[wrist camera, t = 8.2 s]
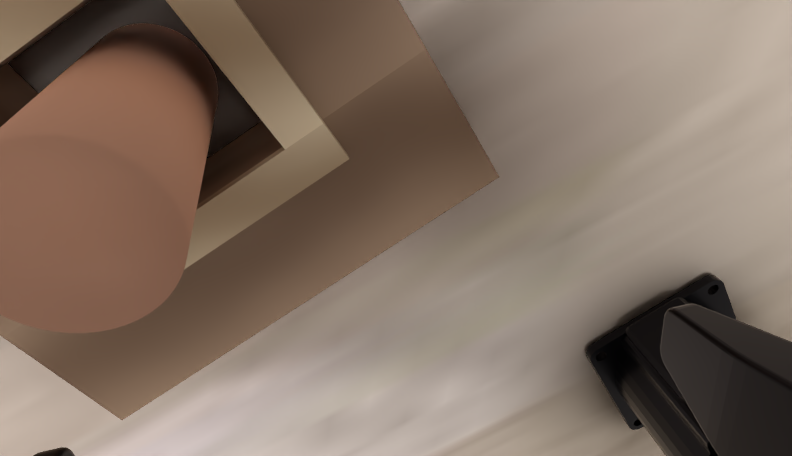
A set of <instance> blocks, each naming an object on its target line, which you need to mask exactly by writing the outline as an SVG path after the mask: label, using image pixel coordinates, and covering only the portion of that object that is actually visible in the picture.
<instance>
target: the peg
mask: <svg viewBox="0 0 792 456" xmlns="http://www.w3.org/2000/svg"><path fill="white" fill-rule="evenodd" d="M217 102H218V83H217V79H216V75H215V72H214V70H213V67H212V65H211V64H210V62H209V60H208V59H207V57H206V56H205V54H204V53H203V52H202V51H201V50H200V48H199V47H198V46H197V45H196V44H194V43H193V42H192V41H191V40H190V39H188V38H187V37H185V36H184V35H182V34H180V33H179V32H177V31H175V30H172V29H170V28H167V27H164V26H160V25H155V24H148V23H138V24H130V25H126V26H123V27H120V28H118V29H115V30H113V31H111V32H110V33H108V34H107V35H105V36H104V37H103V38H102V39H101V40H100V41H98V42H97V43H96V44H95V45H94V46H93V47H92V48H90V49H89V50H88V51H87V52H86V53H85V54H84V55H82V56H81V57H80V58H79V59H78V60H77V61H76V62H74V63H73V64H72V65H71V66H70V67H69V68H68V69H66V70H65V71H64V72H63V73H62V74H61V75H60V76H58V77H57V78H56V79H55V80H54V81H53V82H52V83H50V84H49V85H48V86H47V87H46V88H45V89H44V90H42V91H41V92H40V93H39V94H38V95H37V96H36V97H34V98H33V99H32V100H31V101H30V102H29V103H28V104H26V105H25V106H24V107H23V108H22V109H21V110H20V111H18V112H17V113H16V114H15V115H14V116H13V117H12V118H10V119H9V120H8V121H7V122H6V123H5V124H4V125H2V126H1V127H0V315H2V316H4V317H6V318H8V319H11V320H13V321H16V322H18V323H21V324H24V325H27V326H31V327H34V328H37V329H42V330H48V331H53V332H62V333H92V332H100V331H106V330H111V329H115V328H118V327H121V326H125V325H128V324H130V323H132V322H134V321H137V320H139V319H141V318H142V317H144V316H146V315H148V314H149V313H151V312H152V311H153V310H155V309H156V308H157V307H159V306H160V305H161V304H162V303H163V302H164V301H165V300H166V299H167V298H168V297H169V296H170V294H171V293H172V292H173V290H174V289H175V288H176V286H177V284H178V282H179V280H180V279H181V277H182V274H183V271H184V268H185V265H186V260H187V255H188V250H189V244H190V239H191V234H192V229H193V224H194V219H195V214H196V209H197V204H198V199H199V194H200V189H201V184H202V179H203V174H204V169H205V164H206V159H207V153H208V148H209V143H210V138H211V133H212V128H213V123H214V118H215V113H216V108H217Z"/></svg>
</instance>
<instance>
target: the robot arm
mask: <svg viewBox="0 0 792 456" xmlns="http://www.w3.org/2000/svg"><path fill="white" fill-rule="evenodd" d="M586 356H587V358H588V359H589V361H590V363H591V364H592V366H593V368H594V370H595V371H596V373H597V375H598V376H599V378H600V380H601V381H602V383H603V385H604V386H605V388H606V390H607V391H608V393H609V395H610V396H611V398H612V400H613V402H614V403H615V405H616V407H617V408H618V410H619V412H620V413H621V415H622V417H623V418H624V420H625V422H626V423H627V424H628V426H629V427H630V428H631V429H633V430H636V429H640V428H642V427H645V428H646V429H647V431H648V432H649V434H650V435H651V436H652V438H653V439H654V440H655V442H656V443H657V444H658V446H659V447H660V448H661V450H662V451H663V452H664V454H665V455H666V456H792V342H790V341H788V340H785V339H783V338H780V337H778V336H775V335H773V334H770V333H768V332H765V331H763V330H760V329H757V328H755V327H752V326H750V325H747V324H745V323H742V322H740V321H737V320H736V317H735V314H734V312H733V309H732V306H731V303H730V300H729V297H728V294H727V292H726V289H725V286H724V283H723V282H722V281H721V280H720V279H719V278H717V277H716V276H714V275H708V276H706V277H704V278H702V279H700V280H699V281H697V282H695V283H693V284H692V285H690V286H688V287H687V288H685V289H683V290H682V291H680V292H678V293H677V294H675V295H673V296H672V297H670V298H668V299H667V300H665V301H663V302H662V303H660V304H658V305H657V306H655V307H653V308H652V309H650V310H648V311H647V312H645V313H643V314H642V315H640V316H638V317H637V318H635V319H633V320H632V321H630V322H628V323H627V324H625V325H623V326H622V327H620V328H618V329H617V330H615V331H613V332H612V333H610V334H608V335H607V336H605V337H603V338H602V339H600V340H598V341H597V342H595V343H593V344H592V345H591V346H589V348H588V349H587V351H586ZM34 456H75V455H74V454H73V452H72V451H71V450H70V449H68V448H63V447H62V448H57V449H53V450H48V451H44V452H40V453H37V454H35V455H34Z"/></svg>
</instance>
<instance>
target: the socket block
mask: <svg viewBox="0 0 792 456" xmlns="http://www.w3.org/2000/svg"><path fill="white" fill-rule="evenodd" d="M90 1H92V0H0V127H1V126H2V125H4V124H5V123H6V122H7V121H8V120H9V119H10V118H12V117H13V116H14V115H15V114H16V113H17V112H18V111H20V110H21V109H22V108H23V107H24V106H25V105H26V104H28V103H29V102H30V101H31V100H32V99H33V98H34V97H36V96H37V95H38V93H37V92H36V91H35V90H34V89H33V88H32V87H31V86H30V85H29V84H28V83H27V82H26V81H25V80H24V79H23V78H22V77H21V76H20V75H19V74H17V73H16V72H15V71H14V70H13V69H12V68H11V67H10V66H9V65H8V64H7V63H8V62H10V61H11V60H13V59H14V58H15V57H17V56H18V55H19V54H21V53H22V52H23V51H25V50H26V49H27V48H29V47H30V46H31V45H33V44H34V43H35V42H37V41H38V40H39V39H41V38H42V37H43V36H45V35H46V34H47V33H49V32H50V31H52V30H53V29H54V28H56V27H57V26H58V25H60V24H61V23H62V22H64V21H65V20H66V19H68V18H69V17H70V16H72V15H73V14H74V13H76V12H77V11H78V10H80V9H81V8H82V7H84V6H85V5H86V4H88V3H89V2H90ZM166 1H167V3H168V4H169V5H170V6H171V8H172V9H173V10H174V11H175V13H176V14H177V15H178V16H179V18H180V19H181V20H182V21H183V23H184V24H185V25H186V26H187V28H188V29H189V30H190V31H191V33H192V34H193V35H194V36H195V38H196V39H197V40H198V41H199V43H200V44H201V45H202V46H203V48H204V49H205V50H206V51H207V53H208V54H209V55H210V56H211V58H212V59H213V60H214V61H215V63H216V64H217V65H218V66H219V68H220V69H221V70H222V71H223V73H224V74H225V75H226V76H227V78H228V79H229V80H230V81H231V83H232V84H233V85H234V86H235V88H236V89H237V90H238V91H239V93H240V94H241V95H242V96H243V98H244V99H245V100H246V101H247V103H248V104H249V105H250V106H251V108H252V109H253V110H254V111H255V113H256V114H257V115H258V116H259V118H260V119H261V120H262V121H261V122H260V123H258V124H257V125H256V126H254V127H253V128H251V129H250V130H248V131H247V132H245V133H244V134H243V135H241V136H240V137H238V138H237V139H235V140H234V141H232V142H231V143H229V144H228V145H227V146H225V147H224V148H222V149H221V150H219V151H218V152H216V153H215V154H214V155H212V156H211V157H209V158H208V159H206V164H205V169H204V174H203V179H202V184H201V189H200V194H199V199H198V204H197V209H196V214H195V219H194V224H193V229H192V234H191V239H190V244H189V250H188V255H187V260H186V265H185V268H184V271H183V274H182V277H181V279H180V280H179V282H178V284H177V286H176V288H175V289H174V290H173V292H172V293H171V294H170V296H169V297H168V298H167V299H166V300H165V301H164V302H163V303H162V304H161V305H160V306H159V307H157V308H156V309H155V310H153V311H152V312H151V313H149V314H148V315H146V316H144V317H142V318H141V319H139V320H137V321H134V322H132V323H130V324H128V325H125V326H121V327H118V328H115V329H111V330H106V331H100V332H92V333H62V332H53V331H48V330H42V329H37V328H34V327H31V326H27V325H24V324H21V323H18V322H16V321H13V320H11V319H8V318H6V317H4V316H2V315H0V335H1V336H2V337H3V338H5V339H6V340H8V341H9V342H11V343H12V344H13V345H15V346H16V347H18V348H19V349H21V350H22V351H24V352H25V353H26V354H28V355H29V356H31V357H32V358H34V359H35V360H36V361H38V362H39V363H41V364H42V365H44V366H45V367H46V368H48V369H49V370H51V371H52V372H54V373H55V374H56V375H58V376H59V377H61V378H62V379H64V380H65V381H67V382H68V383H69V384H71V385H72V386H74V387H75V388H77V389H78V390H79V391H81V392H82V393H84V394H85V395H87V396H88V397H89V398H91V399H92V400H94V401H95V402H97V403H98V404H99V405H101V406H102V407H104V408H105V409H107V410H108V411H110V412H111V413H112V414H114V415H115V416H117V417H118V418H120V419H121V420H123V419H125V418H126V417H128V416H129V415H131V414H132V413H134V412H135V411H137V410H139V409H140V408H142V407H143V406H145V405H146V404H148V403H149V402H151V401H153V400H154V399H156V398H157V397H159V396H160V395H162V394H163V393H165V392H166V391H168V390H170V389H171V388H173V387H174V386H176V385H177V384H179V383H180V382H182V381H184V380H185V379H187V378H188V377H190V376H191V375H193V374H194V373H196V372H198V371H199V370H201V369H202V368H204V367H205V366H207V365H208V364H210V363H211V362H213V361H215V360H216V359H218V358H219V357H221V356H222V355H224V354H225V353H227V352H229V351H230V350H232V349H233V348H235V347H236V346H238V345H239V344H241V343H243V342H244V341H246V340H247V339H249V338H250V337H252V336H253V335H255V334H256V333H258V332H260V331H261V330H263V329H264V328H266V327H267V326H269V325H270V324H272V323H274V322H275V321H277V320H278V319H280V318H281V317H283V316H284V315H286V314H288V313H289V312H291V311H292V310H294V309H295V308H297V307H298V306H300V305H301V304H303V303H305V302H306V301H308V300H309V299H311V298H312V297H314V296H315V295H317V294H319V293H320V292H322V291H323V290H325V289H326V288H328V287H329V286H331V285H333V284H334V283H336V282H337V281H339V280H340V279H342V278H343V277H345V276H346V275H348V274H350V273H351V272H353V271H354V270H356V269H357V268H359V267H360V266H362V265H364V264H365V263H367V262H368V261H370V260H371V259H373V258H374V257H376V256H377V255H379V254H381V253H382V252H384V251H385V250H387V249H388V248H390V247H391V246H393V245H395V244H396V243H398V242H399V241H401V240H402V239H404V238H405V237H407V236H409V235H410V234H412V233H413V232H415V231H416V230H418V229H419V228H421V227H422V226H424V225H426V224H427V223H429V222H430V221H432V220H433V219H435V218H436V217H438V216H440V215H441V214H443V213H444V212H446V211H447V210H449V209H450V208H452V207H454V206H455V205H457V204H458V203H460V202H461V201H463V200H464V199H466V198H467V197H469V196H471V195H472V194H474V193H475V192H477V191H478V190H480V189H481V188H483V187H485V186H486V185H488V184H489V183H491V182H492V181H494V180H495V179H497V178H499V176H498V174H497V172H496V170H495V169H494V167H493V165H492V163H491V162H490V160H489V158H488V156H487V155H486V153H485V151H484V149H483V148H482V146H481V144H480V142H479V141H478V139H477V137H476V135H475V134H474V132H473V130H472V128H471V127H470V125H469V123H468V121H467V120H466V118H465V116H464V114H463V113H462V111H461V109H460V107H459V105H458V104H457V102H456V100H455V98H454V97H453V95H452V93H451V91H450V90H449V88H448V86H447V84H446V83H445V81H444V79H443V77H442V76H441V74H440V72H439V70H438V69H437V67H436V65H435V63H434V62H433V60H432V58H431V56H430V55H429V53H428V51H427V49H426V48H425V46H424V44H423V42H422V41H421V39H420V37H419V35H418V34H417V32H416V30H415V28H414V27H413V25H412V23H411V21H410V20H409V18H408V16H407V14H406V13H405V11H404V9H403V7H402V6H401V4H400V2H399V0H166Z"/></svg>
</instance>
